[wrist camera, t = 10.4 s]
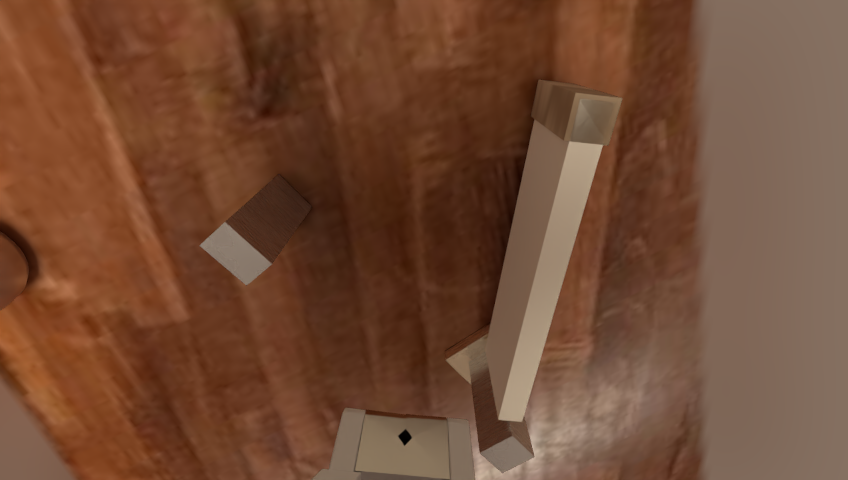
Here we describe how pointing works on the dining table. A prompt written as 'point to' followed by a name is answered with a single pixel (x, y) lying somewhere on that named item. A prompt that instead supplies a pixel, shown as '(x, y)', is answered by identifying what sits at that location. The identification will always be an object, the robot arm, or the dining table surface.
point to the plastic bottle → (11, 271)
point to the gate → (544, 232)
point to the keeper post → (258, 230)
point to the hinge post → (489, 406)
